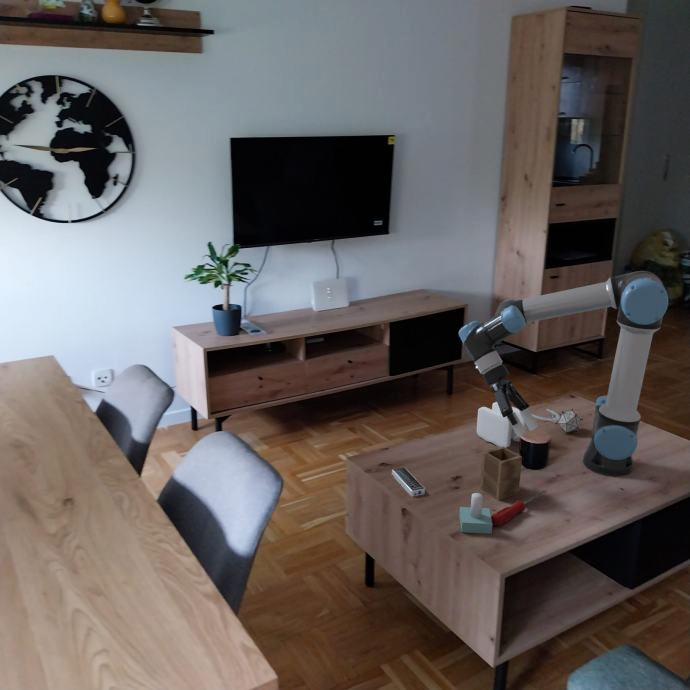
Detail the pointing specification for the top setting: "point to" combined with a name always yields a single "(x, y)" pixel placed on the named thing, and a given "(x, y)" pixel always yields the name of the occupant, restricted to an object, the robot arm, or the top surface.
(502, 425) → the cable organizer
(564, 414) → the game die
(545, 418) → the pliers
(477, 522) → the post stand
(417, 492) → the multiport hub
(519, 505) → the screwdriver
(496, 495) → the brown tall open box
